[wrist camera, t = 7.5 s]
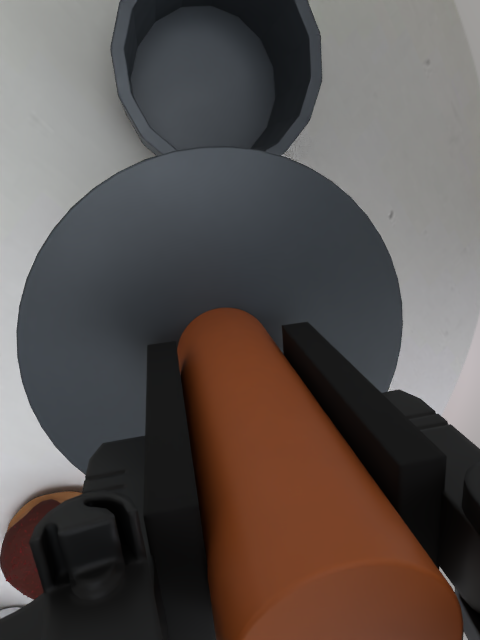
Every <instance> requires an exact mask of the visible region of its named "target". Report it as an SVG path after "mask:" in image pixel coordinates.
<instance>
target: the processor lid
mask: <svg viewBox="0 0 480 640" xmlns="http://www.w3.org/2000/svg"><path fill="white" fill-rule="evenodd" d="M301 322H309V323H310V324H311V325H312V326H313V327H314V328H315V329H316V330H317V331H318V332H319V333H320V334H321V335H322V336H323V337H324V338H325V339H326V340H327V341H328V342H329V343H330V344H331V345H332V346H333V347H335V348H336V349H337V350H338V351H339V352H340V353H341V354H342V355H343V356H344V357H345V358H346V359H347V360H348V361H349V362H350V363H351V364H352V365H353V366H354V367H355V368H356V369H357V370H358V371H359V372H360V373H361V374H362V375H363V376H365V377H366V378H367V379H368V380H369V381H370V382H371V383H372V384H373V385H374V386H375V387H376V388H377V389H378V390H379V391H380V392H381V393H384V392H387V391H388V389H389V386H390V384H391V381H392V378H393V375H394V372H395V369H396V365H397V361H398V356H399V352H400V347H401V337H402V326H403V320H402V300H401V294H400V289H399V283H398V278H397V275H396V272H395V269H394V266H393V262H392V259H391V256H390V254H389V252H388V250H387V248H386V246H385V244H384V242H383V240H382V238H381V236H380V234H379V233H378V231H377V230H376V228H375V227H374V225H373V224H372V222H371V221H370V219H369V218H368V216H367V215H366V214H365V213H364V212H363V210H362V209H361V208H360V207H359V206H358V205H357V204H356V203H355V201H354V200H353V199H352V198H351V197H350V196H349V195H347V194H346V193H345V192H344V191H343V190H341V189H340V188H339V187H338V186H337V185H335V184H334V183H333V182H332V181H330V180H329V179H327V178H326V177H324V176H322V175H321V174H319V173H318V172H316V171H314V170H313V169H311V168H309V167H307V166H305V165H303V164H300V163H298V162H296V161H293V160H291V159H289V158H286V157H284V156H280V155H276V154H273V153H269V152H265V151H262V150H258V149H250V148H242V147H234V146H202V147H195V148H189V149H183V150H176V151H171V152H168V153H165V154H162V155H158V156H155V157H152V158H149V159H145V160H143V161H141V162H139V163H137V164H134V165H132V166H130V167H128V168H126V169H124V170H122V171H120V172H118V173H116V174H115V175H113V176H111V177H110V178H108V179H107V180H105V181H104V182H102V183H101V184H99V185H98V186H96V187H95V188H93V189H92V190H91V191H90V192H89V193H88V194H86V195H85V196H84V197H83V198H82V199H81V200H80V201H78V202H77V203H76V204H75V205H74V206H73V207H72V208H71V209H70V210H69V211H68V212H67V213H66V215H65V216H64V217H63V218H62V219H61V220H60V222H59V223H58V224H57V225H56V226H55V228H54V229H53V230H52V232H51V233H50V235H49V236H48V238H47V240H46V241H45V243H44V244H43V246H42V248H41V249H40V251H39V252H38V254H37V256H36V259H35V261H34V263H33V265H32V268H31V270H30V272H29V275H28V277H27V279H26V283H25V287H24V290H23V294H22V298H21V302H20V305H19V314H18V323H17V357H18V363H19V368H20V373H21V379H22V383H23V386H24V389H25V392H26V395H27V397H28V400H29V403H30V406H31V408H32V410H33V412H34V414H35V415H36V417H37V419H38V421H39V423H40V425H41V427H42V428H43V430H44V431H45V433H46V434H47V435H48V437H49V438H50V440H51V441H52V442H53V444H54V445H55V447H56V448H57V449H58V450H59V451H60V452H61V453H62V454H63V455H64V456H65V457H66V458H67V459H68V460H69V461H70V462H71V463H72V464H73V465H74V466H75V467H77V468H78V469H79V470H80V471H82V472H83V473H84V474H85V475H86V472H87V467H88V463H89V459H90V458H91V457H92V455H93V454H94V453H95V452H96V451H97V449H98V448H99V447H100V446H101V444H102V443H105V442H111V441H117V440H123V439H128V438H134V437H140V436H145V423H146V382H147V345H151V344H158V343H164V342H171V341H176V347H177V354H178V361H179V368H180V375H181V382H182V389H183V397H184V404H185V411H186V418H187V425H188V432H189V439H190V446H191V453H192V460H193V467H194V474H195V481H196V488H197V495H198V503H199V510H200V517H201V524H202V531H203V538H204V545H205V552H206V559H207V566H208V567H207V573H208V584H209V591H210V599H211V606H212V613H213V620H214V627H215V635H216V640H462V636H463V617H462V611H461V607H460V604H459V601H458V598H457V596H456V594H455V592H454V591H453V589H452V587H451V586H450V585H449V583H448V582H447V580H446V579H445V578H444V576H443V575H442V573H441V572H440V571H439V569H438V568H437V567H436V565H435V564H434V562H433V561H432V560H431V558H430V557H429V555H428V554H427V553H426V551H425V550H424V549H423V547H422V546H421V544H420V543H419V542H418V540H417V539H416V537H415V536H414V535H413V533H412V532H411V531H410V529H409V528H408V526H407V525H406V524H405V522H404V521H403V519H402V518H401V517H400V515H399V514H398V512H397V511H396V510H395V508H394V507H393V506H392V504H391V503H390V501H389V500H388V499H387V497H386V496H385V494H384V493H383V492H382V490H381V489H380V488H379V486H378V485H377V483H376V482H375V481H374V479H373V478H372V476H371V475H370V474H369V472H368V471H367V470H366V468H365V467H364V465H363V464H362V463H361V461H360V460H359V458H358V457H357V456H356V454H355V453H354V452H353V450H352V449H351V447H350V446H349V445H348V443H347V442H346V440H345V439H344V438H343V436H342V435H341V433H340V432H339V431H338V429H337V428H336V427H335V425H334V424H333V422H332V421H331V420H330V418H329V417H328V415H327V414H326V413H325V411H324V410H323V409H322V407H321V406H320V404H319V403H318V402H317V400H316V399H315V397H314V396H313V395H312V393H311V392H310V391H309V389H308V388H307V386H306V385H305V384H304V382H303V381H302V379H301V378H300V377H299V375H298V374H297V373H296V371H295V370H294V368H293V367H292V366H291V364H290V363H289V361H288V360H287V359H286V357H285V356H284V353H283V337H282V325H287V324H294V323H301Z"/></svg>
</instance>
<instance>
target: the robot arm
mask: <svg viewBox="0 0 480 640" xmlns="http://www.w3.org/2000/svg"><path fill="white" fill-rule="evenodd" d="M282 337H283V353H284V356H285V357H286V359H287V360H288V361H289V363H290V364H291V366H292V367H293V368H294V370H295V371H296V373H297V374H298V375H299V377H300V378H301V379H302V381H303V382H304V384H305V385H306V386H307V388H308V389H309V391H310V392H311V393H312V395H313V396H314V397H315V399H316V400H317V402H318V403H319V404H320V406H321V407H322V409H323V410H324V411H325V413H326V414H327V415H328V417H329V418H330V420H331V421H332V422H333V424H334V425H335V427H336V428H337V429H338V431H339V432H340V433H341V435H342V436H343V438H344V439H345V440H346V442H347V443H348V445H349V446H350V447H351V449H352V450H353V452H354V453H355V454H356V456H357V457H358V458H359V460H360V461H361V463H362V464H363V465H364V467H365V468H366V470H367V471H368V472H369V474H370V475H371V476H372V478H373V479H374V481H375V482H376V483H377V485H378V486H379V488H380V489H381V490H382V492H383V493H384V494H385V496H386V497H387V499H388V500H389V501H390V503H391V504H392V506H393V507H394V508H395V510H396V511H397V512H398V514H399V515H400V517H401V518H402V519H403V521H404V522H405V524H406V525H407V526H408V528H409V529H410V531H411V532H412V533H413V535H414V536H415V537H416V539H417V540H418V542H419V543H420V544H421V546H422V547H423V549H424V550H425V551H426V553H427V554H428V555H429V557H430V558H431V560H432V561H433V562H434V564H435V565H436V567H437V568H438V569H439V566H440V567H441V569H442V570H443V572H444V573H445V574H446V576H447V577H448V578H449V580H450V581H451V583H452V584H453V585H454V586H455V594H456V596H457V598H458V601H459V604H460V607H461V611H462V617H463V632H465V634H466V636H467V638H468V640H480V449H479V448H478V447H477V446H476V445H474V444H473V443H472V442H471V441H469V440H468V439H467V438H466V437H465V436H464V435H463V434H461V433H460V432H459V431H458V430H457V429H455V428H454V427H453V426H452V425H448V423H447V421H446V420H445V419H444V418H443V417H441V416H440V415H439V414H436V413H435V411H434V410H433V409H432V408H431V407H430V406H428V405H427V404H426V403H425V402H424V401H423V400H421V399H420V398H418V397H415V396H413V395H411V394H408V393H406V392H404V391H401V390H395V391H389V392H384V393H381V392H380V391H379V390H378V389H377V388H376V387H375V386H374V385H373V384H372V383H371V382H370V381H369V380H368V379H367V378H366V377H365V376H363V375H362V374H361V373H360V372H359V371H358V370H357V369H356V368H355V367H354V366H353V365H352V364H351V363H350V362H349V361H348V360H347V359H346V358H345V357H344V356H343V355H342V354H341V353H340V352H339V351H338V350H337V349H336V348H335V347H333V346H332V345H331V344H330V343H329V342H328V341H327V340H326V339H325V338H324V337H323V336H322V335H321V334H320V333H319V332H318V331H317V330H316V329H315V328H314V327H313V326H312V325H311V324H310V323H309V322H301V323H294V324H287V325H282ZM85 478H86V480H85V481H84V486H83V490H82V494H81V495H78V496H76V497H73V498H71V499H68V500H66V501H64V502H62V503H61V504H59V505H58V506H56V507H55V508H53V509H52V510H50V511H49V512H48V513H47V514H46V515H45V516H44V517H43V518H42V519H41V520H40V522H39V523H38V524H37V525H36V526H35V528H34V530H33V533H32V536H31V538H30V541H29V544H30V548H31V551H32V555H33V558H34V561H35V565H36V568H37V571H38V575H39V578H40V581H41V585H42V588H43V591H44V593H42V594H41V595H40V596H38V597H37V598H36V599H35V600H33V601H32V602H31V603H29V604H27V605H26V606H24V607H22V608H20V609H19V610H17V611H15V612H13V613H11V614H9V615H7V616H5V617H3V618H1V619H0V640H216V635H215V627H214V620H213V613H212V606H211V599H210V591H209V584H208V573H207V567H208V566H207V559H206V552H205V545H204V538H203V531H202V524H201V517H200V510H199V503H198V495H197V488H196V481H195V474H194V467H193V460H192V453H191V446H190V439H189V432H188V425H187V418H186V411H185V404H184V397H183V389H182V382H181V375H180V368H179V361H178V354H177V347H176V341H171V342H164V343H158V344H151V345H147V382H146V423H145V436H140V437H134V438H128V439H123V440H117V441H111V442H105V443H102V444H101V446H100V447H99V448H98V449H97V451H96V452H95V453H94V454H93V455H92V457H91V458H90V459H89V463H88V467H87V472H86V476H85ZM462 640H463V636H462Z"/></svg>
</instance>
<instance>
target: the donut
mask: <svg viewBox="0 0 480 640" xmlns="http://www.w3.org/2000/svg"><path fill="white" fill-rule="evenodd" d="M81 494H82V493H80V492H69V491H66V492H57V493H52V494H47V495H43V496H39V497H37V498H34V499H32V500H31V501H29V502H28V503H27V504H26V505H24V506H23V507H22V508H21V509H20V510H19V511H18V513H17V514H16V515H15V516H14V517H13V518H12V520H11V522H10V523H9V525H8V530H7V533H6V535H5V538H4V541H3V544H2V549H1V555H0V567H1V570H2V572H3V574H4V576H5V579H6V581H8V582H9V583H10V584H11V585H12V586H13V587H15V588H16V589H17V590H19V591H20V592H21V593H23V595H26V596H27V597H30V598H32V599H34V600H35V599H36V598H37V597H38V596H40V595H41V594H42V593H44V591H43V588H42V585H41V581H40V578H39V575H38V571H37V568H36V565H35V561H34V558H33V555H32V551H31V548H30V544H29V541H30V538H31V536H32V533H33V530H34V528H35V526H36V525H37V524H38V523H39V522H40V520H41V519H42V518H43V517H44V516H45V515H46V514H47V513H48V512H49V511H50V510H52V509H53V508H55V507H56V506H58V505H59V504H61V503H62V502H64V501H66V500H68V499H71V498H73V497H76V496H78V495H81Z"/></svg>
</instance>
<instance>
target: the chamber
mask: <svg viewBox="0 0 480 640" xmlns="http://www.w3.org/2000/svg"><path fill="white" fill-rule="evenodd" d="M110 50H111V56H112V62H113V68H114V74H115V80H116V86H117V92H118V96H119V99H120V101H121V103H122V105H123V108H124V110H125V112H126V115H127V116H128V118H129V120H130V122H131V123H132V125H133V127H134V129H135V130H136V132H137V134H138V136H139V137H140V139H141V141H142V143H143V144H144V145H145V146H146V147H147V148H148V149H150V150H151V151H152V152H153V153H154V154H155V155H157V156H158V155H162V154H165V153H168V152H171V151H176V150H183V149H189V148H195V147H202V146H234V147H242V148H250V149H258V150H262V151H265V152H269V153H273V154H276V155H282V154H284V152H286V151H287V149H288V148H289V147H290V145H291V144H292V143H293V142H294V140H295V139H296V138H297V136H298V135H299V134H300V133H301V131H302V130H303V129H304V127H305V126H306V125H307V124H308V122H309V121H310V118H311V115H312V112H313V108H314V105H315V102H316V99H317V96H318V92H319V89H320V86H321V83H322V61H321V36H320V32H319V29H318V27H317V24H316V21H315V19H314V16H313V14H312V11H311V9H310V6H309V4H308V1H307V0H120V2H119V7H118V12H117V17H116V22H115V27H114V32H113V37H112V42H111V49H110Z"/></svg>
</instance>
